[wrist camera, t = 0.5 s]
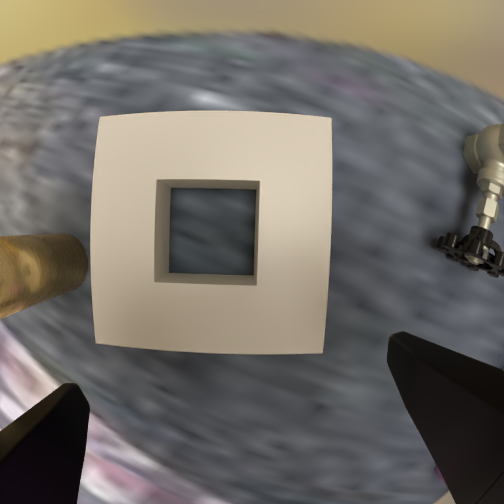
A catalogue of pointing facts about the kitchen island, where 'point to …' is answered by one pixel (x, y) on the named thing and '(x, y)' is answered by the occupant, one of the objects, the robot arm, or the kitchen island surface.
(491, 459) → the robot arm
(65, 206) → the kitchen island surface
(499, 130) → the valve
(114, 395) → the kitchen island surface
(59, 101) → the kitchen island surface
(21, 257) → the brass bushing
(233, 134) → the jig plate
